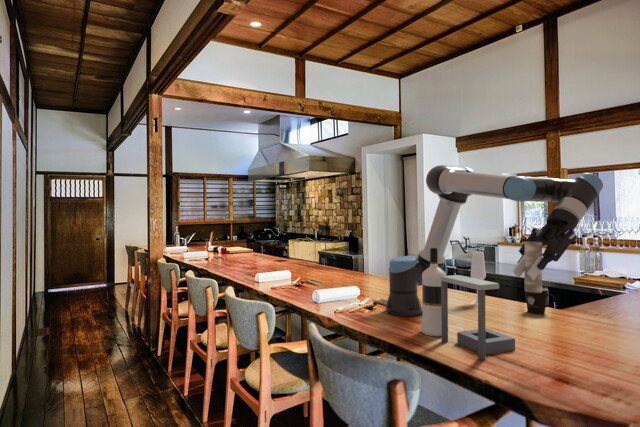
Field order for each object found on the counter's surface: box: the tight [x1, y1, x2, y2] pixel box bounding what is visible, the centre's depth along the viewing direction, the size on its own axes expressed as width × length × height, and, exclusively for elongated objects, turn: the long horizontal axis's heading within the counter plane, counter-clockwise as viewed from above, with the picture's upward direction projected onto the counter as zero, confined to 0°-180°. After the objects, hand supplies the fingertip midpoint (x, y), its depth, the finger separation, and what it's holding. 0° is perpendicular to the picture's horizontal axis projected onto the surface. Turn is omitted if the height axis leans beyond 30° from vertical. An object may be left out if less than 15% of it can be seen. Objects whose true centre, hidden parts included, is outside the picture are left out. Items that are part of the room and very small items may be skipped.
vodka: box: [420, 248, 447, 338], centre depth 144 cm, size 9×9×30 cm
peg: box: [524, 241, 543, 293], centre depth 117 cm, size 4×4×14 cm
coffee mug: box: [524, 287, 556, 315], centre depth 171 cm, size 12×9×10 cm
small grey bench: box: [441, 274, 500, 361], centre depth 128 cm, size 7×19×22 cm, turn 20°
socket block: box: [456, 327, 516, 355], centre depth 130 cm, size 12×12×4 cm
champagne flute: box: [470, 251, 487, 306], centre depth 191 cm, size 7×7×24 cm
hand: (523, 275), depth 116 cm, fingers closed on peg, 4 cm apart
